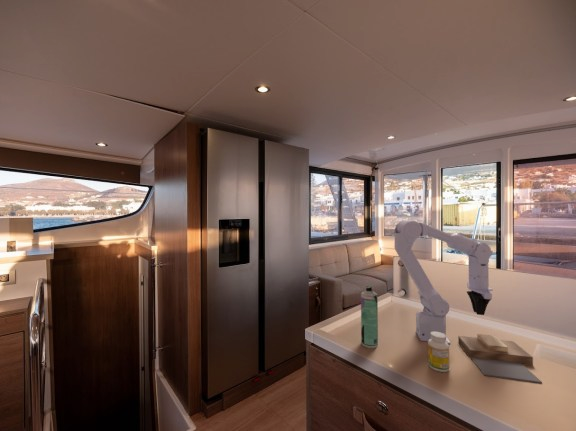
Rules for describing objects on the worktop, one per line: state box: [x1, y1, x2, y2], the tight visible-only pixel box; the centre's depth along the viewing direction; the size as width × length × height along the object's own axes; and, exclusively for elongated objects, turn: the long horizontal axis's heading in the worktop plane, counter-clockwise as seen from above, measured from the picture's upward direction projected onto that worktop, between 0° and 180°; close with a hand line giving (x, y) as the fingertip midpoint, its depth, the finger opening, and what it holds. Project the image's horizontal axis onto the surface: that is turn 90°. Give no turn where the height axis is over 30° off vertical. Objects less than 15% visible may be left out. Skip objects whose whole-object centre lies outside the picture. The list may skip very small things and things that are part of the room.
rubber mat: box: [470, 357, 543, 384], centre depth 74 cm, size 13×9×1 cm
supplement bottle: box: [427, 332, 450, 373], centre depth 75 cm, size 5×5×10 cm
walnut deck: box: [457, 335, 534, 366], centre depth 82 cm, size 16×10×2 cm, turn 74°
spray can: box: [360, 285, 379, 349], centre depth 89 cm, size 6×6×20 cm
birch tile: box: [476, 333, 508, 352], centre depth 83 cm, size 5×8×2 cm, turn 164°
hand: (478, 313), depth 92 cm, fingers closed
